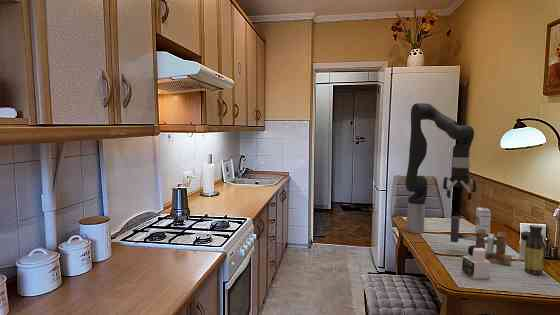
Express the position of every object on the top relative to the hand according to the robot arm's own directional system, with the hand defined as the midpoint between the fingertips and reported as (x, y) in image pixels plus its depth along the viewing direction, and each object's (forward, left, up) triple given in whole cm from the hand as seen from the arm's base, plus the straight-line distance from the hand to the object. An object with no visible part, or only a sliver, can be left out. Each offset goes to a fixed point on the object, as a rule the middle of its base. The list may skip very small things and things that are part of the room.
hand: (458, 199), depth 158 cm
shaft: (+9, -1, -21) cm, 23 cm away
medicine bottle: (+11, -26, -26) cm, 39 cm away
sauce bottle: (+30, -8, -26) cm, 41 cm away
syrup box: (+7, +40, -26) cm, 48 cm away
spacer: (+14, -1, -23) cm, 26 cm away
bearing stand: (+14, -1, -26) cm, 30 cm away
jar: (+29, +8, -26) cm, 40 cm away
